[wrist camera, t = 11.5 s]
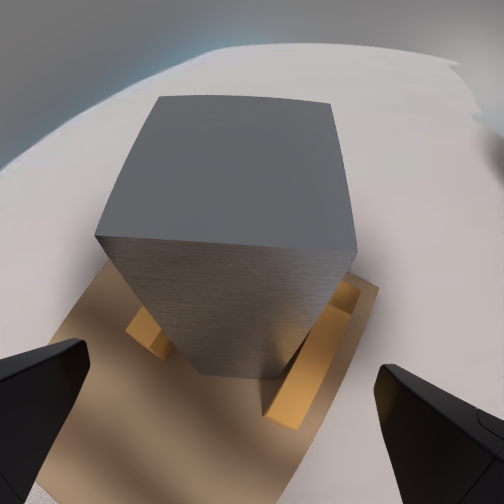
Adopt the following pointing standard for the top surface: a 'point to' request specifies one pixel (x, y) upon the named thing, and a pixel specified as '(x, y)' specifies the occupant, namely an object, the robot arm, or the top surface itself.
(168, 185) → the link bar
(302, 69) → the top surface
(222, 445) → the plate
